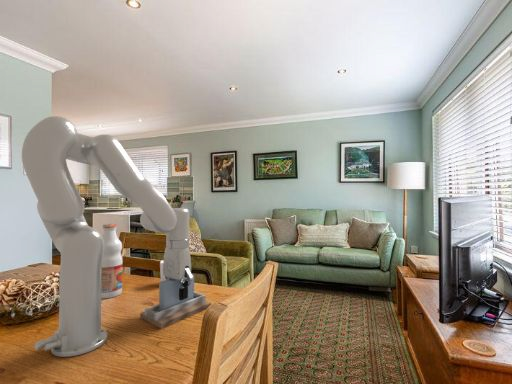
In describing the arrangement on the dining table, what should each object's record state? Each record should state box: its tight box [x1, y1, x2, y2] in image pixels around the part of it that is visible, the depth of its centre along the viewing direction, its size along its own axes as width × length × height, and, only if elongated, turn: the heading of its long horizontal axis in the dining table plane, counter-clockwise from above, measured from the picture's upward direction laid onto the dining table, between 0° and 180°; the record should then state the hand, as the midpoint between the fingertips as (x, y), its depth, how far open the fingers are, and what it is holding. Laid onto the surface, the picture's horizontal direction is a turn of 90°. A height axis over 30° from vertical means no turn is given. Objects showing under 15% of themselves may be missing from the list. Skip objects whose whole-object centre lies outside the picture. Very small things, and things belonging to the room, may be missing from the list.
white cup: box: [159, 259, 166, 282], centre depth 122 cm, size 8×8×10 cm
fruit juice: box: [101, 223, 123, 299], centre depth 108 cm, size 9×9×28 cm
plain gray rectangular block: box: [158, 274, 195, 312], centre depth 92 cm, size 12×3×10 cm, turn 143°
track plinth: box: [139, 291, 212, 330], centre depth 92 cm, size 20×12×4 cm, turn 142°
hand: (177, 296), depth 92 cm, fingers open, 6 cm apart
